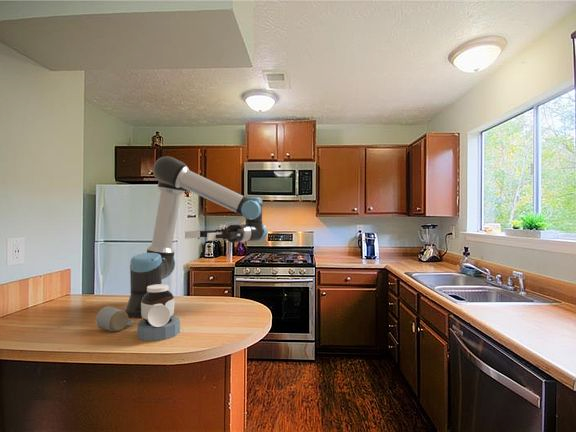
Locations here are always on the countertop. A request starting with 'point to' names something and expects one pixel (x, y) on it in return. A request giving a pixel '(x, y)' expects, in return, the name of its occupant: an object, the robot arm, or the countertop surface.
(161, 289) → the spread jar
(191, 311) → the countertop surface
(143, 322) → the slate bowl
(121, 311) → the ceramic mug
